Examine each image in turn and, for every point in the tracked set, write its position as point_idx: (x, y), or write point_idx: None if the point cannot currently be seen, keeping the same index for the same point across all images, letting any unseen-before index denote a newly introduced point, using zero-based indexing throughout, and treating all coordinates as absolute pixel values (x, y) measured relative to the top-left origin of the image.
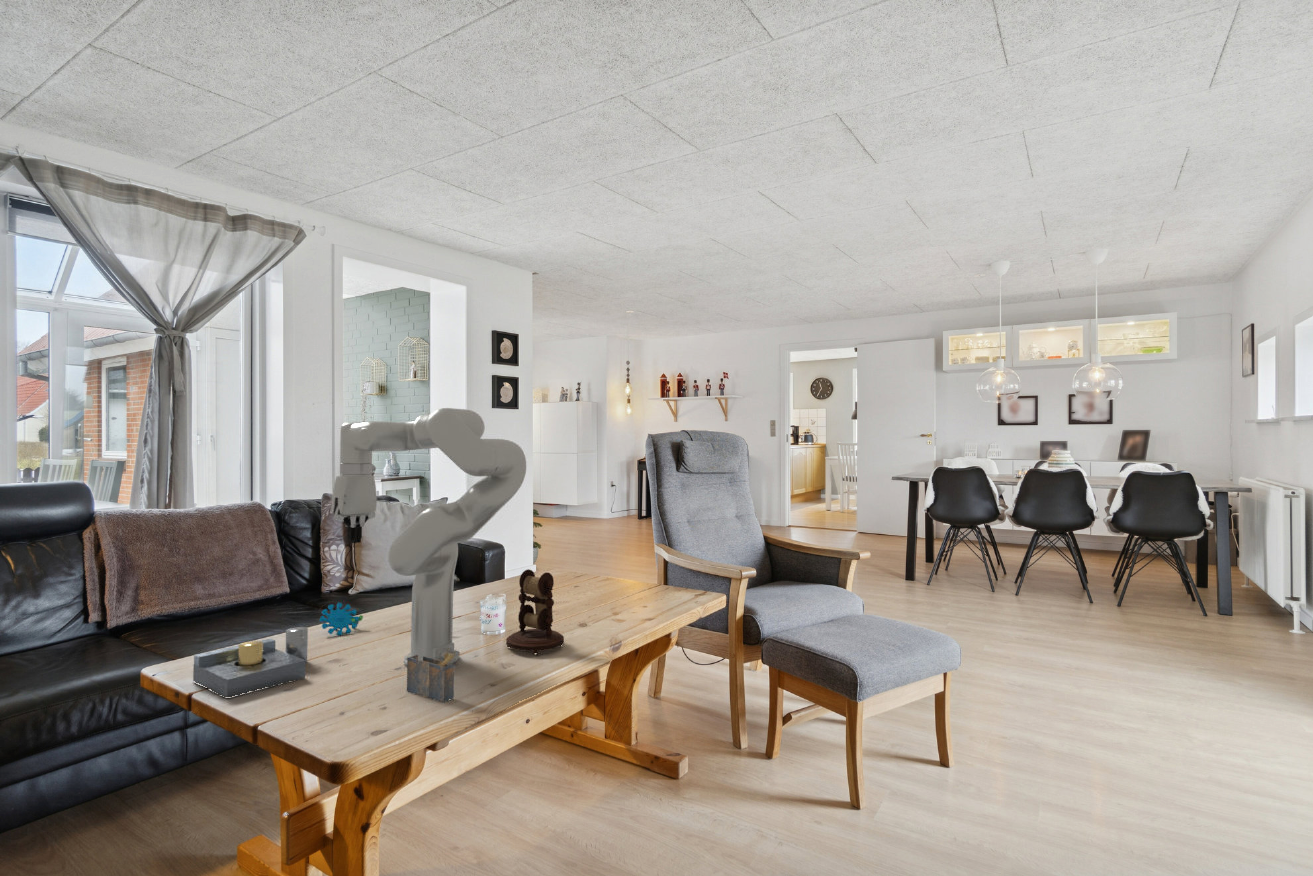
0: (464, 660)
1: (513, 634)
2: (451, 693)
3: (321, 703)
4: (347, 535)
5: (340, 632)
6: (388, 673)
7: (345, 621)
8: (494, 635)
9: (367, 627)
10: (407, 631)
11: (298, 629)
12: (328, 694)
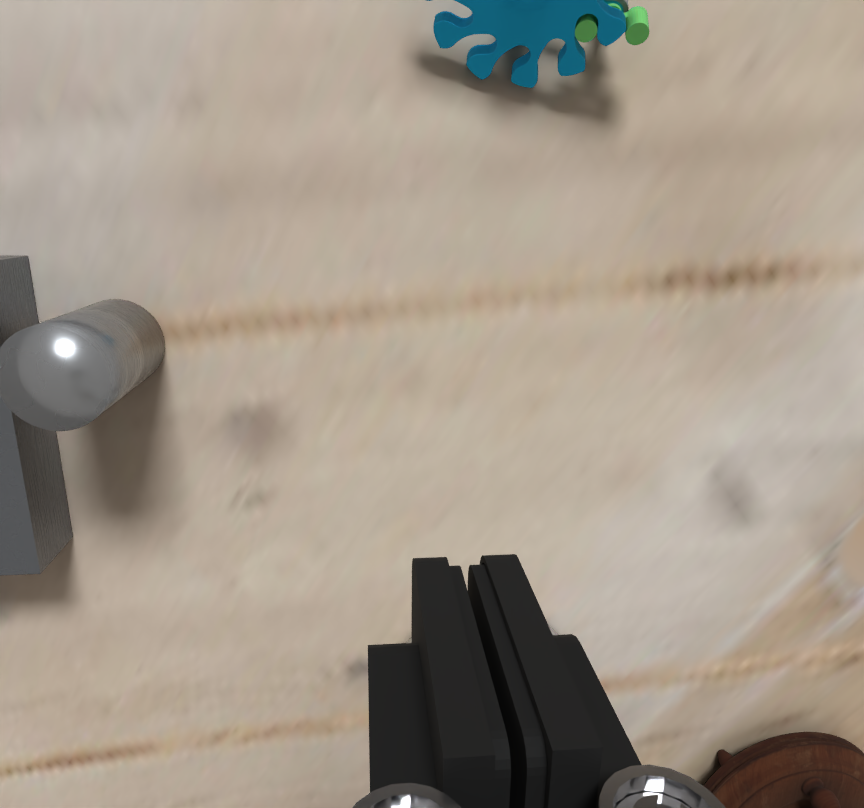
0: None
1: (765, 792)
2: None
3: (20, 773)
4: (369, 679)
5: (481, 68)
6: (309, 688)
7: (542, 20)
8: (831, 600)
9: (656, 38)
10: (706, 279)
11: (60, 381)
12: (68, 725)
